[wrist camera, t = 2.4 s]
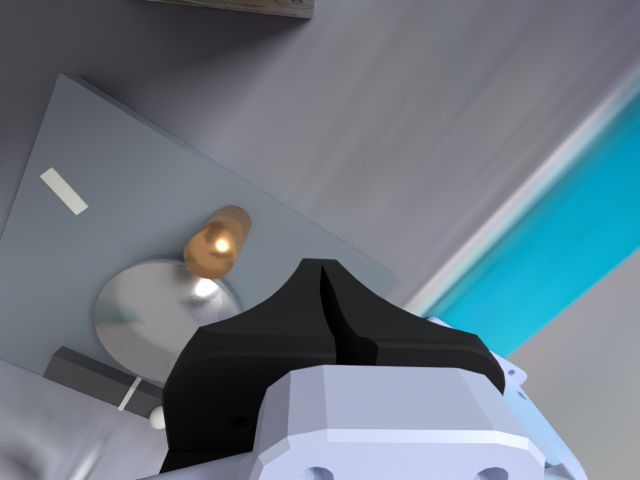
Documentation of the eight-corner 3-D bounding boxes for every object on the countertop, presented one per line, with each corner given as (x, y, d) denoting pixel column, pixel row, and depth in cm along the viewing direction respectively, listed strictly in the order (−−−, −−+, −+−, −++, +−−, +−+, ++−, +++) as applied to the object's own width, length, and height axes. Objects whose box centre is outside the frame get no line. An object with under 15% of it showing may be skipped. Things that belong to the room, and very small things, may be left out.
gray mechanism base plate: (393, 272, 20) (406, 297, 17) (252, 443, 25) (245, 483, 22) (77, 75, 16) (27, 66, 13) (-19, 332, 21) (-70, 365, 18)
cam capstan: (207, 386, 21) (182, 453, 17) (86, 333, 19) (25, 394, 15) (305, 246, 18) (305, 286, 14) (171, 165, 16) (122, 182, 12)
